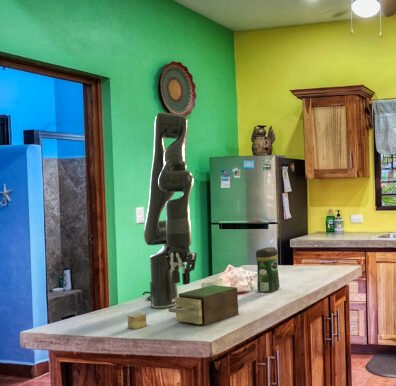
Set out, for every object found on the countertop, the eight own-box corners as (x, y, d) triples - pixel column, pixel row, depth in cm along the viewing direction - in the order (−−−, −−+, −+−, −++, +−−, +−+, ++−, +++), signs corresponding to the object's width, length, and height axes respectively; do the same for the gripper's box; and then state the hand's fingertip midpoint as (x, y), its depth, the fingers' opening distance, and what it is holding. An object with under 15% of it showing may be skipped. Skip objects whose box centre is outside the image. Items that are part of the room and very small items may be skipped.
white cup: (217, 309, 180) (215, 282, 180) (198, 309, 182) (196, 282, 182) (228, 303, 188) (226, 278, 188) (209, 303, 189) (208, 278, 189)
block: (127, 327, 160) (127, 315, 160) (139, 324, 164) (138, 312, 164) (135, 329, 158) (134, 317, 158) (146, 325, 162) (145, 313, 162)
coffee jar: (266, 287, 215) (264, 246, 215) (282, 288, 213) (280, 246, 212) (254, 292, 206) (252, 249, 206) (270, 293, 204) (268, 249, 203)
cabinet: (205, 325, 159) (203, 296, 159) (179, 321, 165) (178, 293, 165) (238, 314, 172) (237, 287, 171) (213, 311, 178) (212, 285, 178)
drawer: (187, 328, 154) (186, 303, 154) (164, 324, 159) (163, 300, 159) (231, 313, 170) (230, 291, 169) (208, 310, 175) (207, 289, 175)
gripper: (203, 230, 158) (205, 282, 159) (174, 230, 165) (176, 280, 166) (183, 233, 152) (186, 287, 152) (154, 232, 159) (157, 284, 159)
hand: (181, 283), depth 159 cm, fingers open, 4 cm apart
